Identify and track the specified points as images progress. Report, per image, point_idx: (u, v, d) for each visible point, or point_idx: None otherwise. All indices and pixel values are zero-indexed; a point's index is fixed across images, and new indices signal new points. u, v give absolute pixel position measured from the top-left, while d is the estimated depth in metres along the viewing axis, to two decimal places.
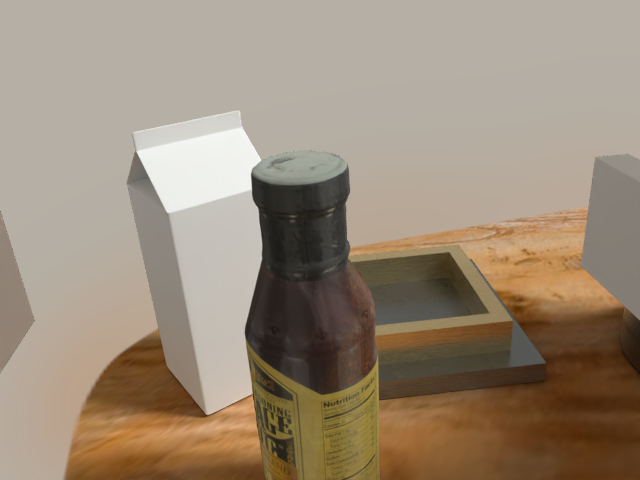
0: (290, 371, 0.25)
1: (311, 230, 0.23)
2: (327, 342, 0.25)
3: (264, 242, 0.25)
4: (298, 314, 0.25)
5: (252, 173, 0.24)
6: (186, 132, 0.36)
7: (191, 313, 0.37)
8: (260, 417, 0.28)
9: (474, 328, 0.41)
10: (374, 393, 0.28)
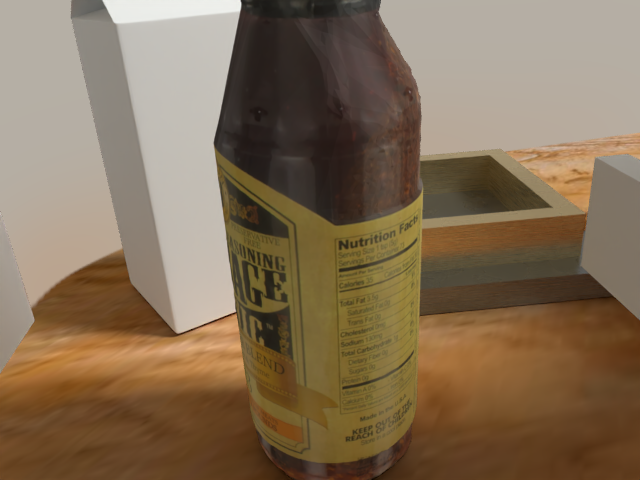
0: (283, 181, 0.15)
1: None
2: (347, 124, 0.15)
3: None
4: (298, 78, 0.15)
5: None
6: None
7: (152, 182, 0.27)
8: (238, 283, 0.18)
9: (534, 223, 0.31)
10: (417, 245, 0.18)
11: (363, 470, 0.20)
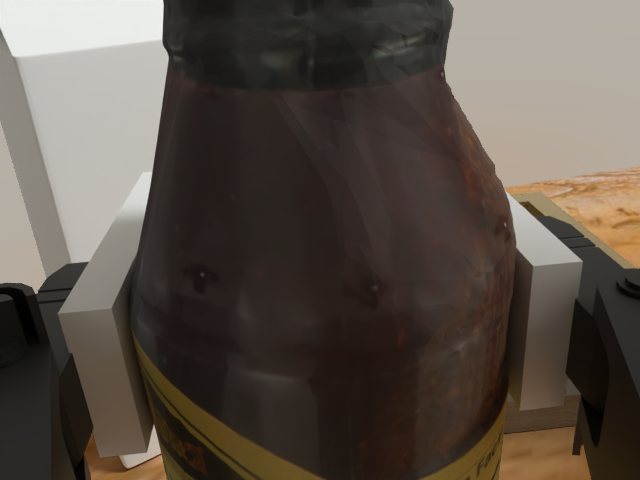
0: (252, 418, 0.07)
1: None
2: (387, 317, 0.07)
3: None
4: (280, 217, 0.07)
5: None
6: None
7: None
8: None
9: None
10: (498, 469, 0.10)
11: None
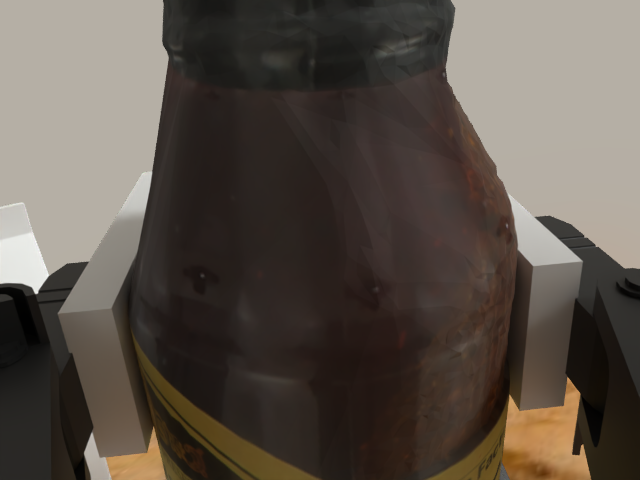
0: (253, 420, 0.07)
1: None
2: (389, 320, 0.07)
3: None
4: (281, 218, 0.07)
5: None
6: None
7: None
8: None
9: None
10: (499, 471, 0.10)
11: None
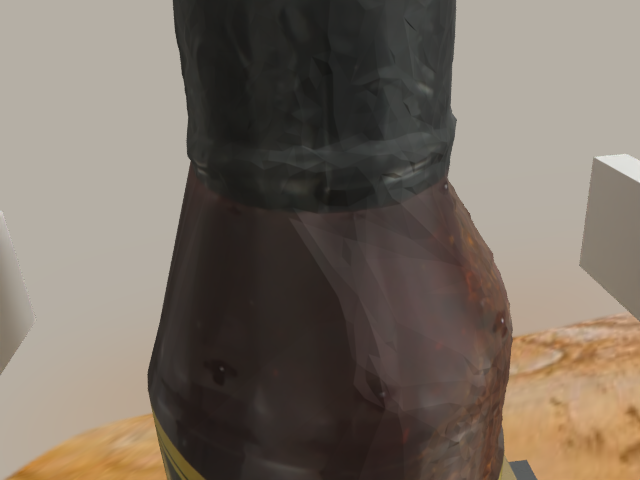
0: None
1: (350, 6, 0.06)
2: (393, 420, 0.07)
3: (188, 85, 0.08)
4: (296, 324, 0.07)
5: None
6: None
7: None
8: None
9: None
10: None
11: None
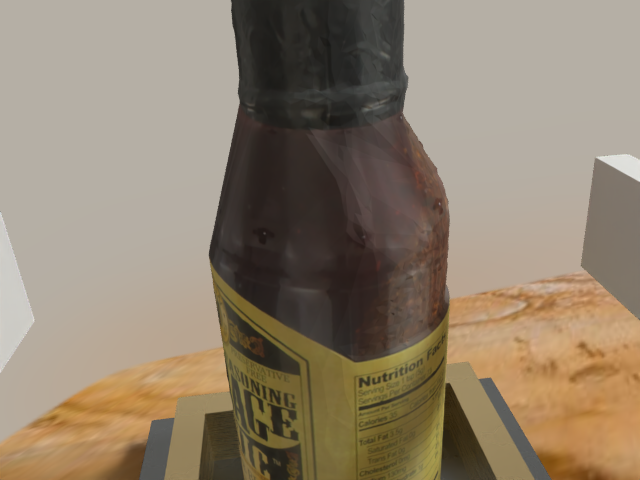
0: (294, 315, 0.13)
1: (340, 8, 0.11)
2: (370, 254, 0.12)
3: (242, 56, 0.12)
4: (311, 199, 0.12)
5: None
6: None
7: None
8: (239, 409, 0.16)
9: None
10: (444, 363, 0.16)
11: None
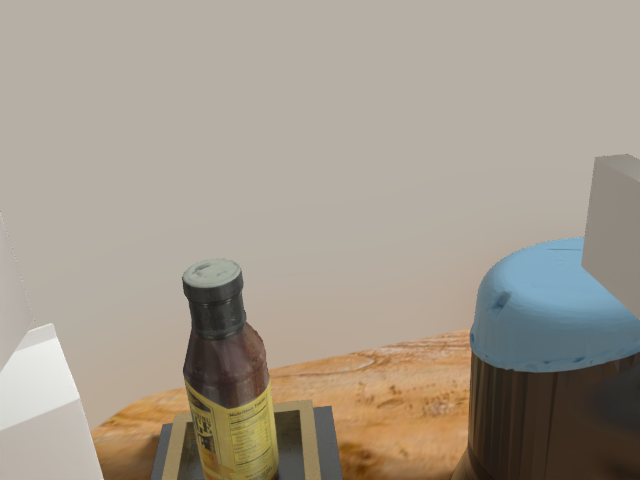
0: (207, 394, 0.41)
1: (217, 312, 0.40)
2: (229, 377, 0.41)
3: (191, 316, 0.41)
4: (211, 360, 0.41)
5: (182, 277, 0.40)
6: None
7: None
8: (194, 422, 0.44)
9: None
10: (266, 407, 0.44)
11: None
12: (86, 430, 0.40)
